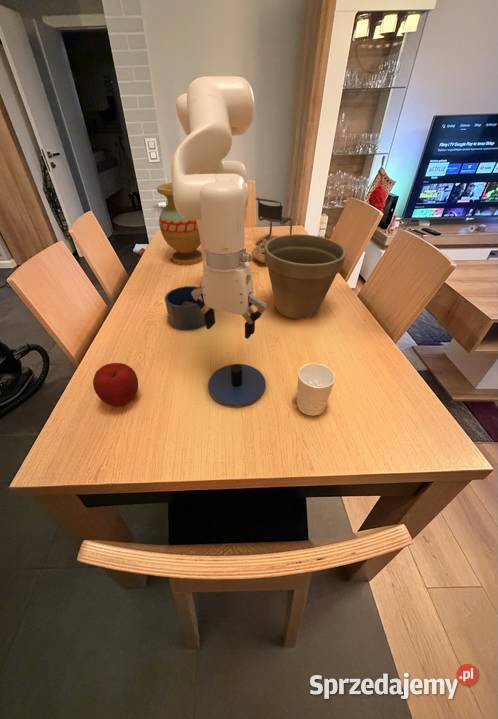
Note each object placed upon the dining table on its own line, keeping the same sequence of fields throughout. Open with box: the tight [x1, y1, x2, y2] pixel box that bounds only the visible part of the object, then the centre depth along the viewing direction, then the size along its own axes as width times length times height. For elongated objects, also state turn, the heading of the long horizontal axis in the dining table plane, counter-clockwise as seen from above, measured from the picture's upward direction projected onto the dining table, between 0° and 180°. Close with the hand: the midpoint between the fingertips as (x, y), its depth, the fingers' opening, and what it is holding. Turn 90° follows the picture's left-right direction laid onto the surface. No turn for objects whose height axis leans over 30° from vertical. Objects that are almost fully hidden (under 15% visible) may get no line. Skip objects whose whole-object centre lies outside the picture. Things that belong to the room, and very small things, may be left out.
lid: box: [207, 363, 267, 407], centre depth 75 cm, size 15×15×6 cm
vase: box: [156, 182, 202, 266], centre depth 131 cm, size 20×20×30 cm
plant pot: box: [264, 233, 347, 320], centre depth 99 cm, size 25×25×22 cm
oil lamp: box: [251, 238, 268, 264], centre depth 135 cm, size 11×15×8 cm
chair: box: [255, 196, 293, 246], centre depth 149 cm, size 13×17×22 cm
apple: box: [92, 362, 139, 408], centre depth 70 cm, size 10×10×10 cm
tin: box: [164, 285, 206, 331], centre depth 98 cm, size 14×14×8 cm
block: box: [181, 301, 196, 306], centre depth 99 cm, size 4×4×4 cm
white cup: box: [296, 362, 336, 417], centre depth 69 cm, size 8×8×10 cm
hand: (229, 330), depth 68 cm, fingers open, 9 cm apart
